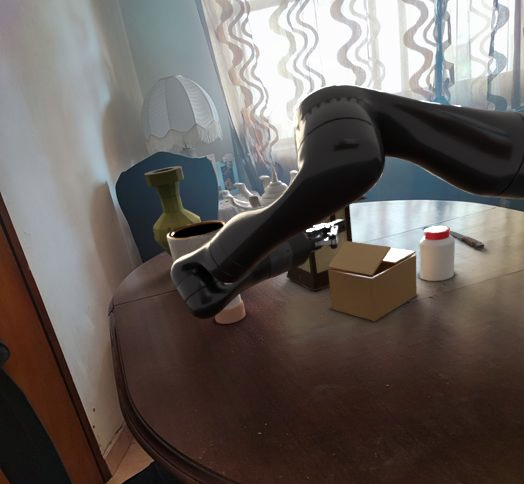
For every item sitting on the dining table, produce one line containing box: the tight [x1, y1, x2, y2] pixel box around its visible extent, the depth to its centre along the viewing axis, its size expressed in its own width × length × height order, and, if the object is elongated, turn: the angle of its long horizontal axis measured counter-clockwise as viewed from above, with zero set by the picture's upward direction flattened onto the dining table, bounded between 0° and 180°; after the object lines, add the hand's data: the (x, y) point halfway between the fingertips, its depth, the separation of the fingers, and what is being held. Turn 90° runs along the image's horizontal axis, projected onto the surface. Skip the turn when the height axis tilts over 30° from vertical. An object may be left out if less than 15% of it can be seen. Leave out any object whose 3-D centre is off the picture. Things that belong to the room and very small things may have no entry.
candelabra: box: [219, 162, 298, 211], centre depth 144 cm, size 34×35×27 cm
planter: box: [167, 219, 228, 263], centre depth 131 cm, size 18×18×16 cm
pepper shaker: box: [203, 238, 246, 325], centre depth 105 cm, size 7×7×19 cm
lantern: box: [286, 196, 369, 292], centre depth 116 cm, size 18×26×30 cm
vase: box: [144, 165, 202, 265], centre depth 146 cm, size 16×16×30 cm
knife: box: [424, 226, 485, 249], centre depth 132 cm, size 28×1×5 cm
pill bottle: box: [418, 225, 456, 282], centre depth 108 cm, size 8×8×11 cm
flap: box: [328, 241, 392, 276], centre depth 96 cm, size 7×12×1 cm
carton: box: [328, 247, 418, 322], centre depth 101 cm, size 15×12×10 cm
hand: (342, 224), depth 90 cm, fingers closed
